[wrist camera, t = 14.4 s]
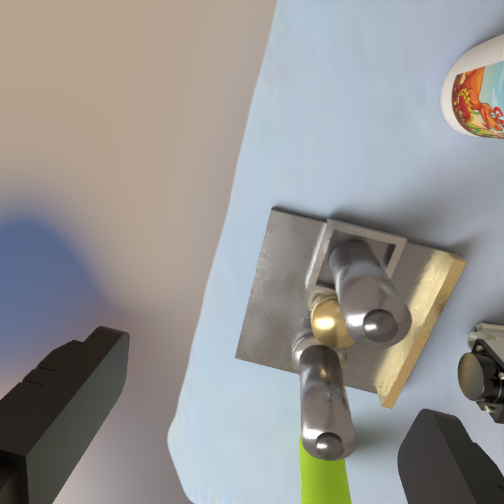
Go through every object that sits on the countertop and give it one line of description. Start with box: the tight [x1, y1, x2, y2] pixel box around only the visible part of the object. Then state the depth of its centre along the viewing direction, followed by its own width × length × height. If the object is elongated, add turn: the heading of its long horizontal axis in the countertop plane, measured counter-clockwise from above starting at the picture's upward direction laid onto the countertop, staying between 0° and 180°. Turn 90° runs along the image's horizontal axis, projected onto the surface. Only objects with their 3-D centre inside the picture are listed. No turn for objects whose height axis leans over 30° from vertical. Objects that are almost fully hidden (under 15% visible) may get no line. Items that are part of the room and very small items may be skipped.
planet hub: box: [329, 241, 412, 349], centre depth 30 cm, size 5×5×13 cm
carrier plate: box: [235, 208, 467, 461], centre depth 33 cm, size 21×20×14 cm
